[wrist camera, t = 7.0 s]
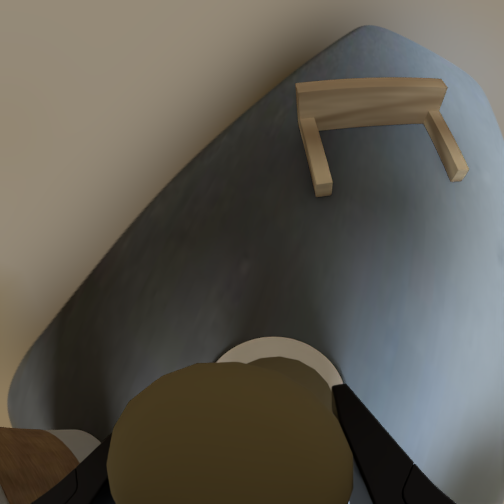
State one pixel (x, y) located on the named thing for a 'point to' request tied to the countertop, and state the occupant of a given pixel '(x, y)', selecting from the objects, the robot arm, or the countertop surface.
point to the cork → (232, 438)
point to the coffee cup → (38, 460)
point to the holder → (372, 117)
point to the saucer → (284, 355)
